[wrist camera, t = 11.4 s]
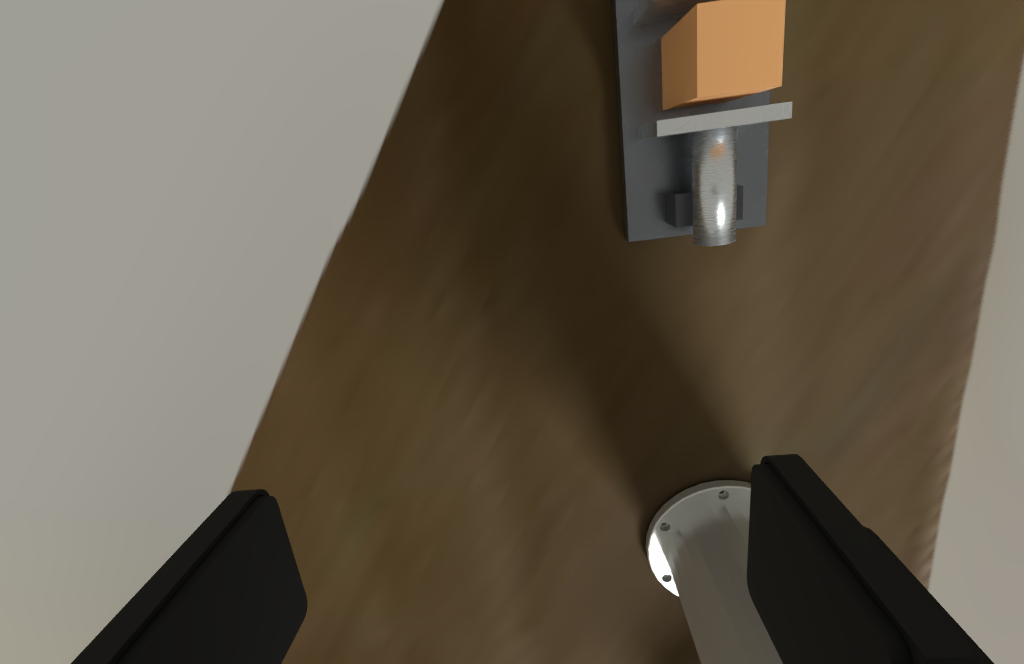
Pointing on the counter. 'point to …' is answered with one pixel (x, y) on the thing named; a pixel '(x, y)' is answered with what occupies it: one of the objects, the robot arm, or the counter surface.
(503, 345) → the counter surface
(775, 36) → the orange block
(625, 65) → the shaft stand
